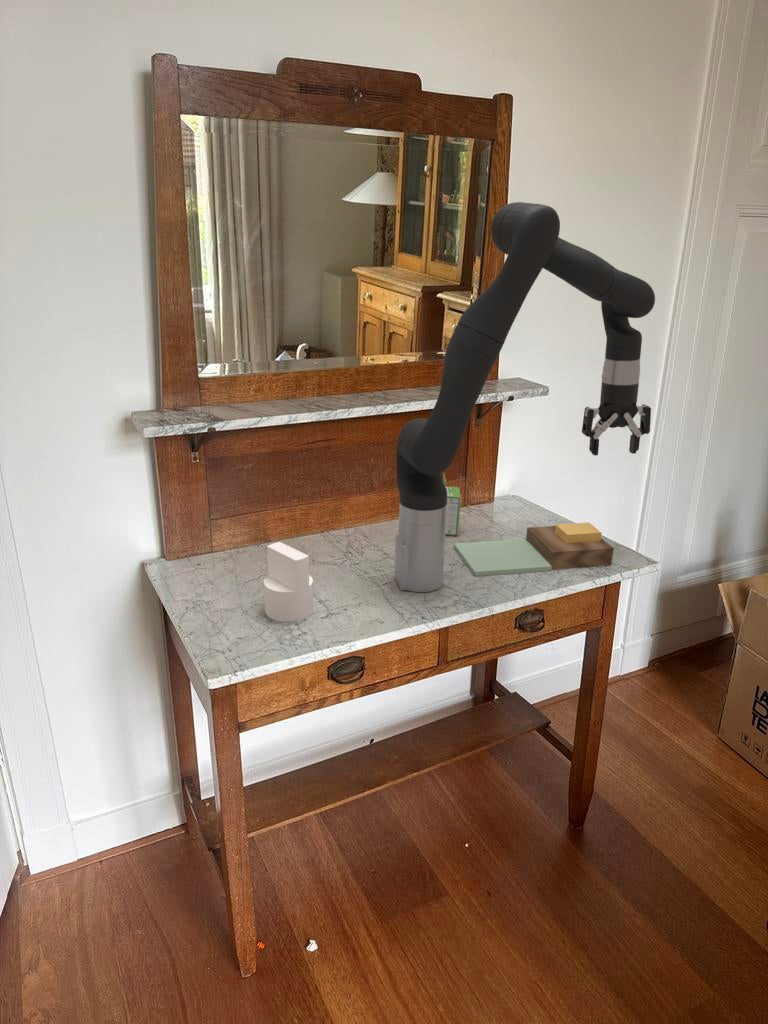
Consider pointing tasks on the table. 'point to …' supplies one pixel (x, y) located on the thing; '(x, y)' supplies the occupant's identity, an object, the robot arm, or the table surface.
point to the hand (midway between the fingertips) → (613, 453)
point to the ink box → (452, 510)
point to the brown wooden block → (568, 549)
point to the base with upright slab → (287, 584)
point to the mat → (501, 557)
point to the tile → (578, 532)
